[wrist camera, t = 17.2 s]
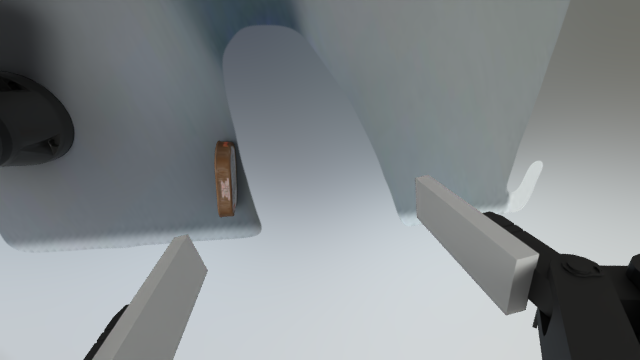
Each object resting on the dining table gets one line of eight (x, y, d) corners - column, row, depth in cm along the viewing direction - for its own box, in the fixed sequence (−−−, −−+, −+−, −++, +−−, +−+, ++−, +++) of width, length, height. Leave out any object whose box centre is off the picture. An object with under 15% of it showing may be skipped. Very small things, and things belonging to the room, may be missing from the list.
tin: (221, 135, 47) (208, 148, 39) (238, 136, 47) (229, 149, 40) (225, 203, 53) (215, 225, 45) (240, 203, 53) (233, 225, 46)
